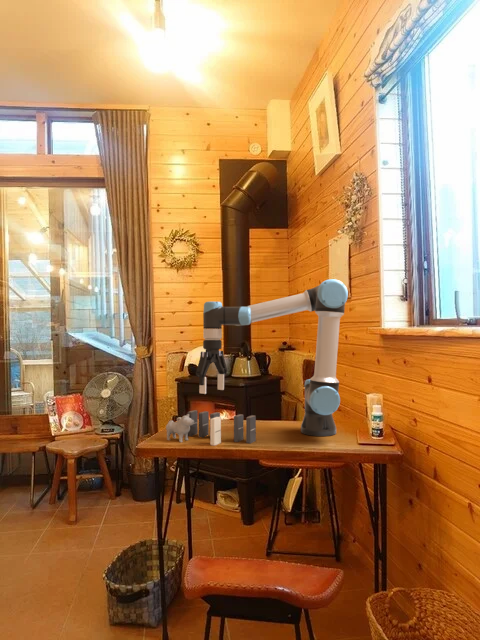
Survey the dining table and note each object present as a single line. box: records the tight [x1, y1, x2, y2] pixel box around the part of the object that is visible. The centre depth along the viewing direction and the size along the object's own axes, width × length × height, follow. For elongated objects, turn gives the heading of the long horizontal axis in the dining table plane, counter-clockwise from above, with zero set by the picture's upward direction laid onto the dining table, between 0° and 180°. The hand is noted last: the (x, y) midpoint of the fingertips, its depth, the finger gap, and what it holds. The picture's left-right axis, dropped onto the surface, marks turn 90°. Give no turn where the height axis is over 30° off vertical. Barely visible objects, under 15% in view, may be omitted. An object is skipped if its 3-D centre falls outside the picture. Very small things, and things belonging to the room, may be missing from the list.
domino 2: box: [198, 410, 210, 438], centre depth 189 cm, size 2×5×10 cm, turn 153°
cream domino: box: [209, 416, 222, 446], centre depth 176 cm, size 2×5×10 cm, turn 153°
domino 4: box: [233, 413, 245, 443], centre depth 181 cm, size 2×5×10 cm, turn 153°
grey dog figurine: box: [165, 413, 194, 443], centre depth 182 cm, size 5×13×11 cm, turn 57°
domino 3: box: [209, 411, 221, 420], centre depth 186 cm, size 2×5×10 cm, turn 153°
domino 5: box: [245, 414, 257, 444], centre depth 179 cm, size 2×5×10 cm, turn 153°
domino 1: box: [187, 409, 199, 437], centre depth 191 cm, size 2×5×10 cm, turn 153°
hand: (212, 391), depth 184 cm, fingers open, 13 cm apart
